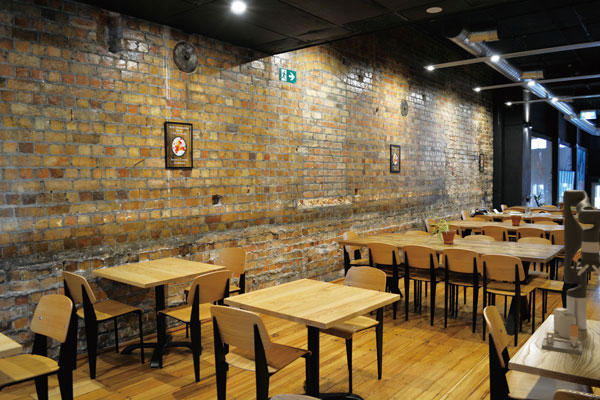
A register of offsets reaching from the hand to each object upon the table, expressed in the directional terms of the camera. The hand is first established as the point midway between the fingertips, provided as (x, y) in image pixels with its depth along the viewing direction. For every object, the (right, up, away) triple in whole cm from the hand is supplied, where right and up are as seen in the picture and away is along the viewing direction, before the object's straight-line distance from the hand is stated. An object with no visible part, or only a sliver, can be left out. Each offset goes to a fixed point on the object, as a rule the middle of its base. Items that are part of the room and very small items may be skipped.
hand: (590, 283), depth 217 cm
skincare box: (-3, -30, +19) cm, 35 cm away
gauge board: (-16, -30, -3) cm, 34 cm away
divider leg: (-12, -29, -6) cm, 31 cm away
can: (-5, -30, +10) cm, 32 cm away
